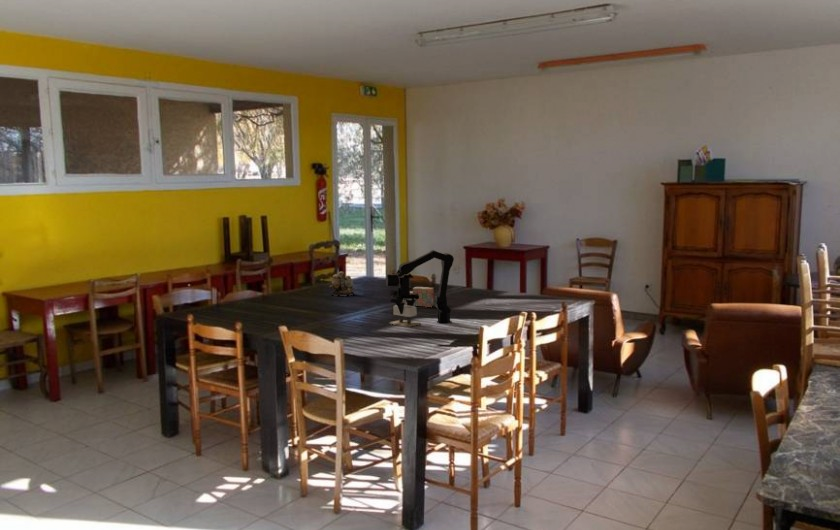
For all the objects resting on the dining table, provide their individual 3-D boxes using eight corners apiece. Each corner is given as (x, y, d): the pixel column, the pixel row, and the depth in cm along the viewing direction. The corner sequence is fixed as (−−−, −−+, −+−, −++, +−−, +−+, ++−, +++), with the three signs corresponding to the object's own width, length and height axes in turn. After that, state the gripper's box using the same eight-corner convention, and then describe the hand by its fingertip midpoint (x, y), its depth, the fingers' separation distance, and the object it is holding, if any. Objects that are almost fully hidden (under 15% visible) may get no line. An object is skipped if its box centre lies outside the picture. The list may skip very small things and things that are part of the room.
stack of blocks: (399, 306, 458) (399, 287, 457) (402, 304, 464) (401, 286, 462) (431, 307, 452) (431, 288, 451) (433, 306, 458) (433, 287, 457)
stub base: (420, 324, 401) (420, 317, 400) (409, 327, 393) (409, 320, 393) (400, 321, 410) (400, 314, 410) (389, 324, 403) (389, 317, 402)
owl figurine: (330, 297, 493) (329, 273, 491) (328, 294, 505) (327, 271, 503) (356, 296, 498) (355, 271, 496) (353, 293, 509) (352, 269, 507)
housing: (416, 315, 400) (416, 306, 399) (409, 317, 395) (409, 308, 394) (400, 312, 407) (400, 304, 407) (393, 314, 403) (393, 305, 402)
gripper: (404, 282, 411) (405, 309, 413) (382, 286, 397) (383, 314, 399) (419, 284, 404) (419, 311, 406) (397, 288, 390) (398, 316, 392)
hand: (405, 313), depth 401 cm, fingers closed on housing, 6 cm apart
